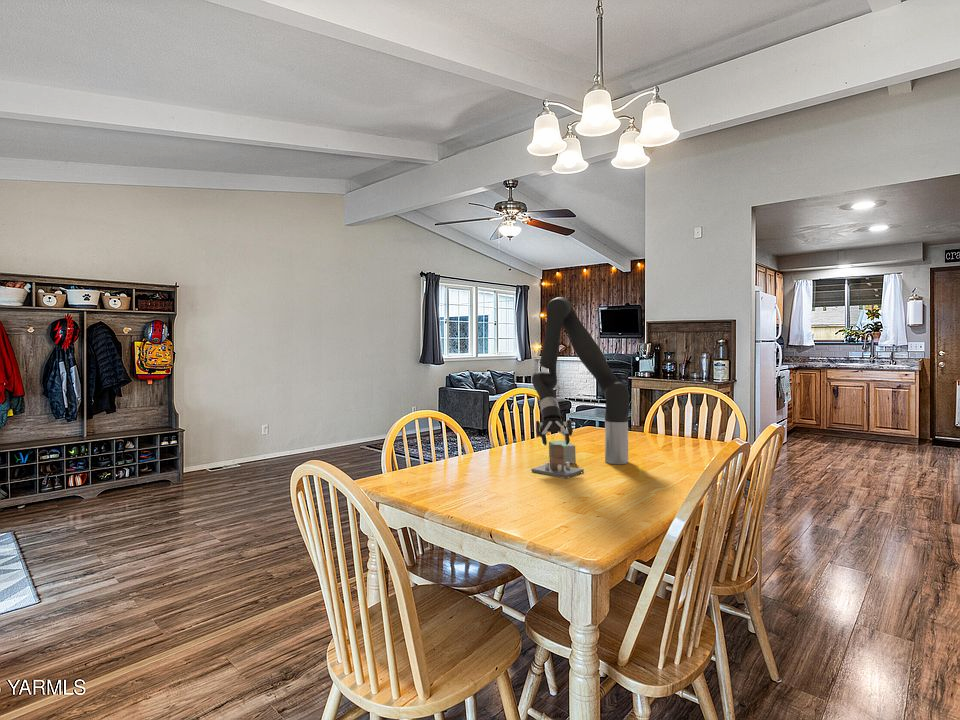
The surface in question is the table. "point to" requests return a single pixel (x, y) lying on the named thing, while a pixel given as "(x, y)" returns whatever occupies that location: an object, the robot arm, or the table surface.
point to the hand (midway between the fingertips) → (556, 443)
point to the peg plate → (564, 473)
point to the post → (556, 456)
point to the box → (566, 451)
